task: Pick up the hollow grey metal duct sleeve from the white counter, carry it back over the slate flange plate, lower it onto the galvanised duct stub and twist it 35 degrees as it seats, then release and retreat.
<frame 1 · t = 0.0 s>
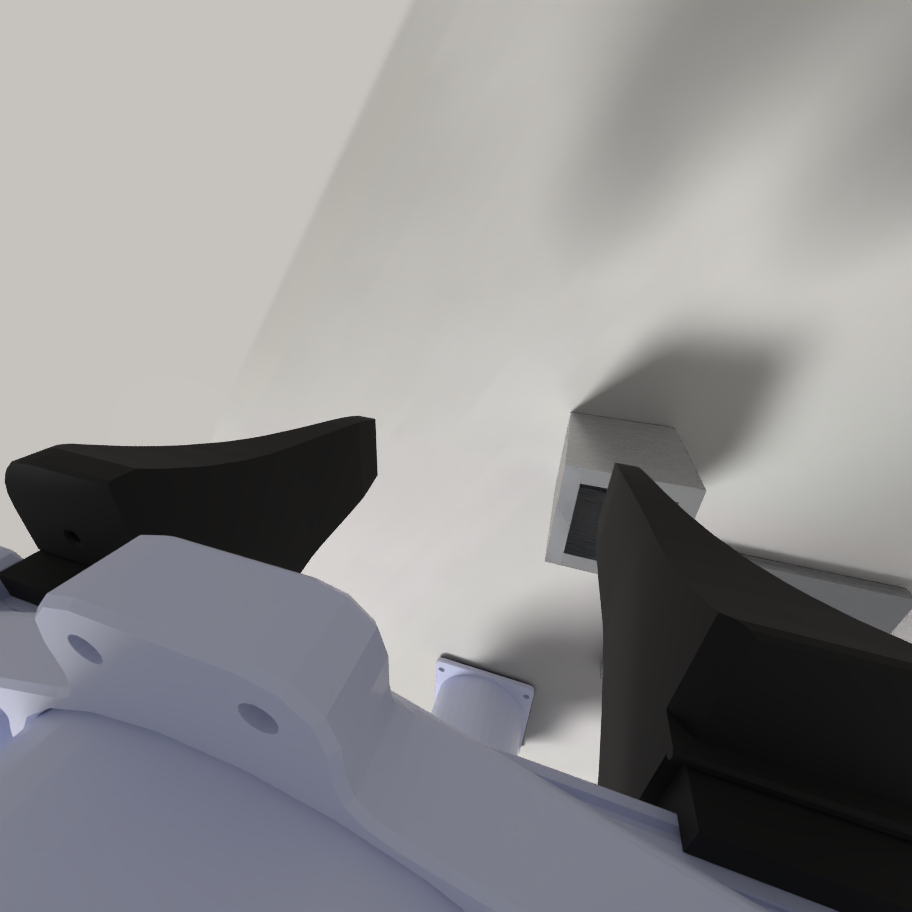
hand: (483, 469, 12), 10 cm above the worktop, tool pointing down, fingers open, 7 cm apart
duct flange: (726, 635, 24), on the worktop
sleeve: (609, 462, 21), on the worktop
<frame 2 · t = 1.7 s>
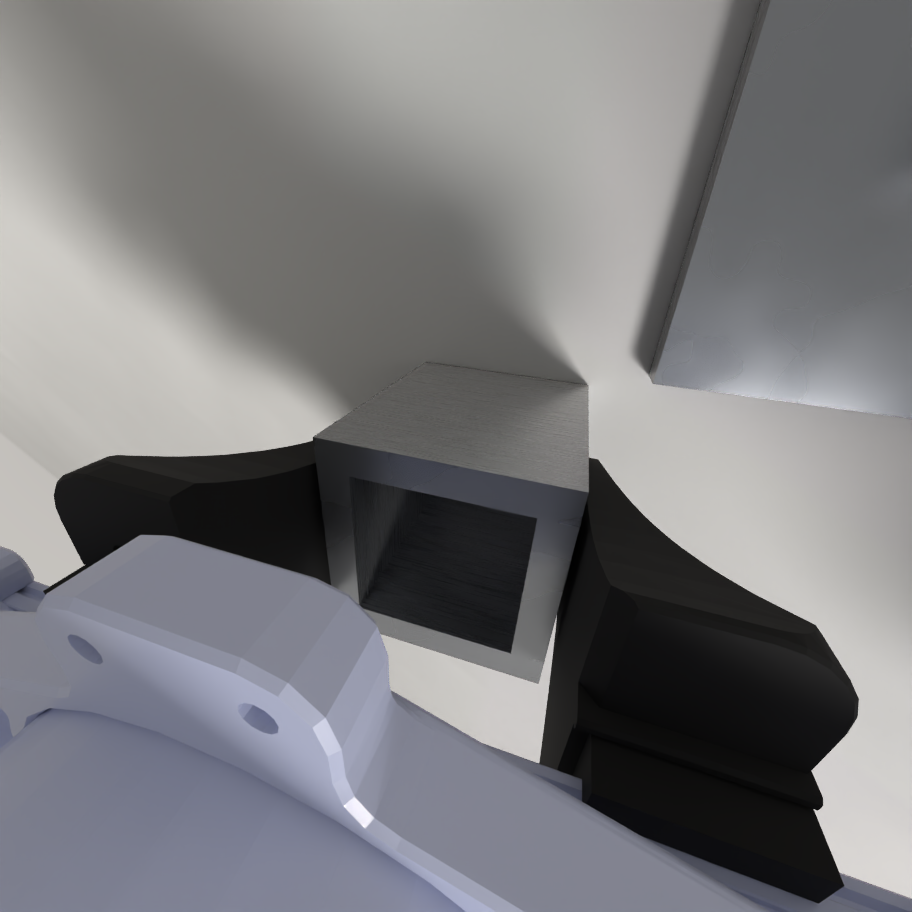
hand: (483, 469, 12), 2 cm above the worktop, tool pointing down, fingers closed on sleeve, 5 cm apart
sleeve: (494, 446, 13), on the worktop, touching gripper
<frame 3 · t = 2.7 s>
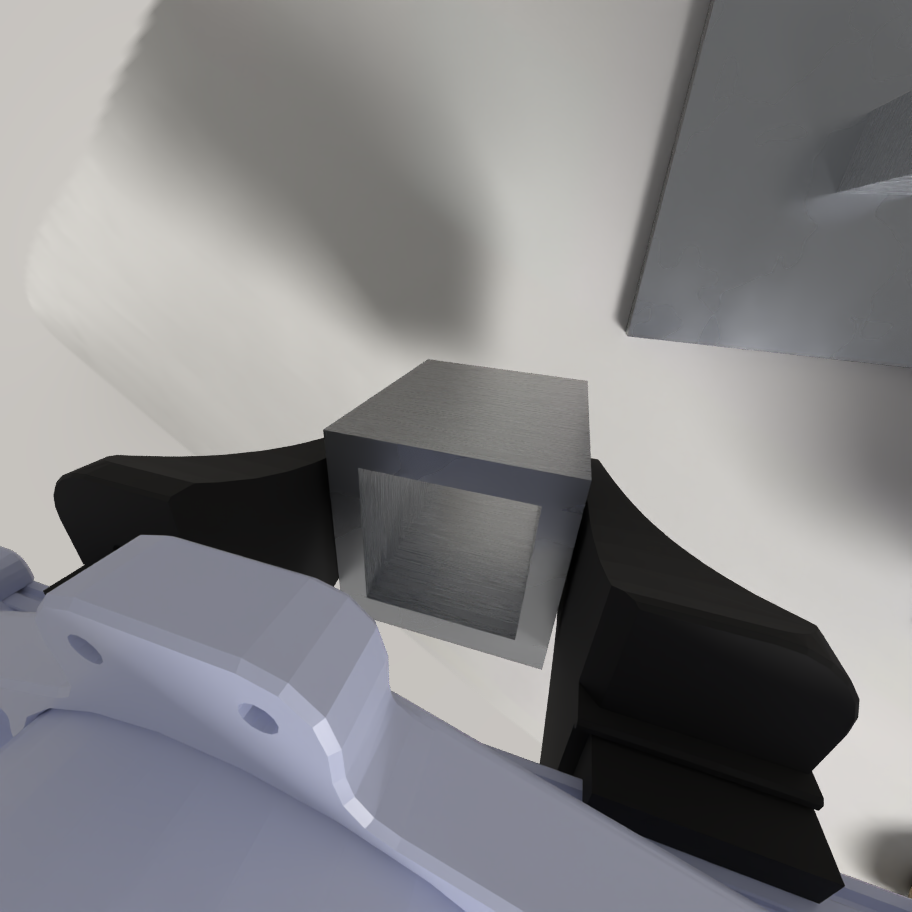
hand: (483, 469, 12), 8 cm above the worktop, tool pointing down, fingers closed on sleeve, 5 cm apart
duct flange: (876, 159, 12), on the worktop
sleeve: (495, 442, 13), point 6 cm above the worktop, touching gripper
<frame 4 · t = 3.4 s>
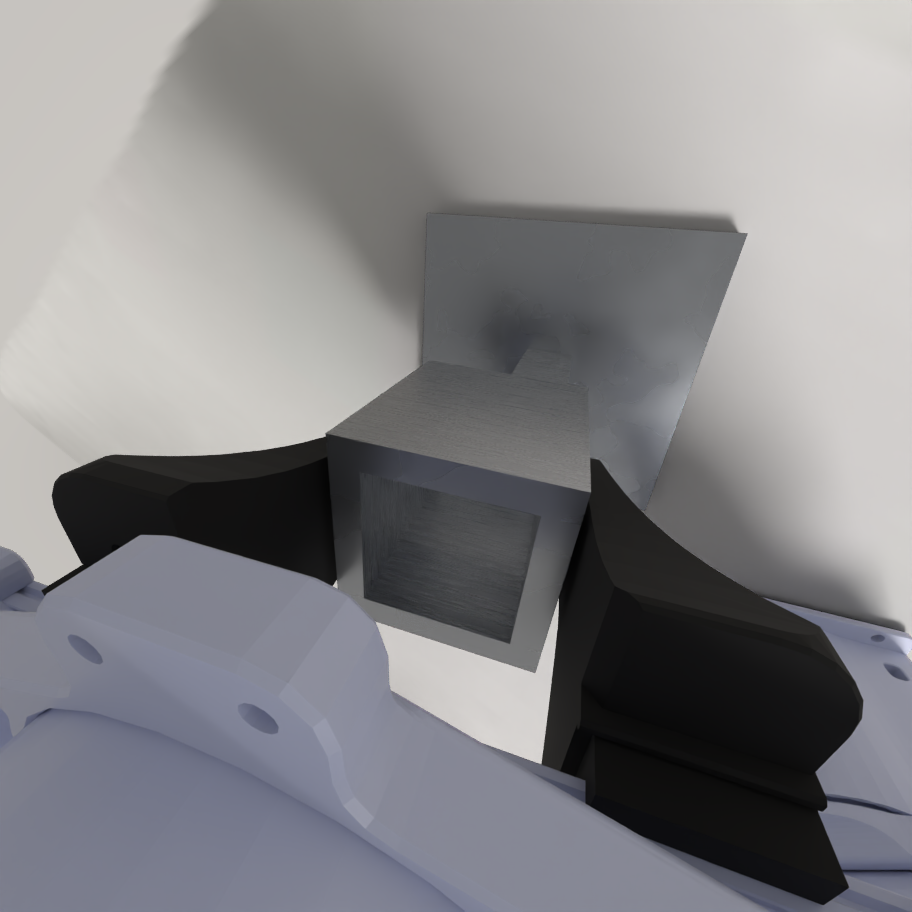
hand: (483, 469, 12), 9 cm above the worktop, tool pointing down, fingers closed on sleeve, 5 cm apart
duct flange: (546, 369, 19), on the worktop
sleeve: (494, 444, 13), point 7 cm above the worktop, touching gripper
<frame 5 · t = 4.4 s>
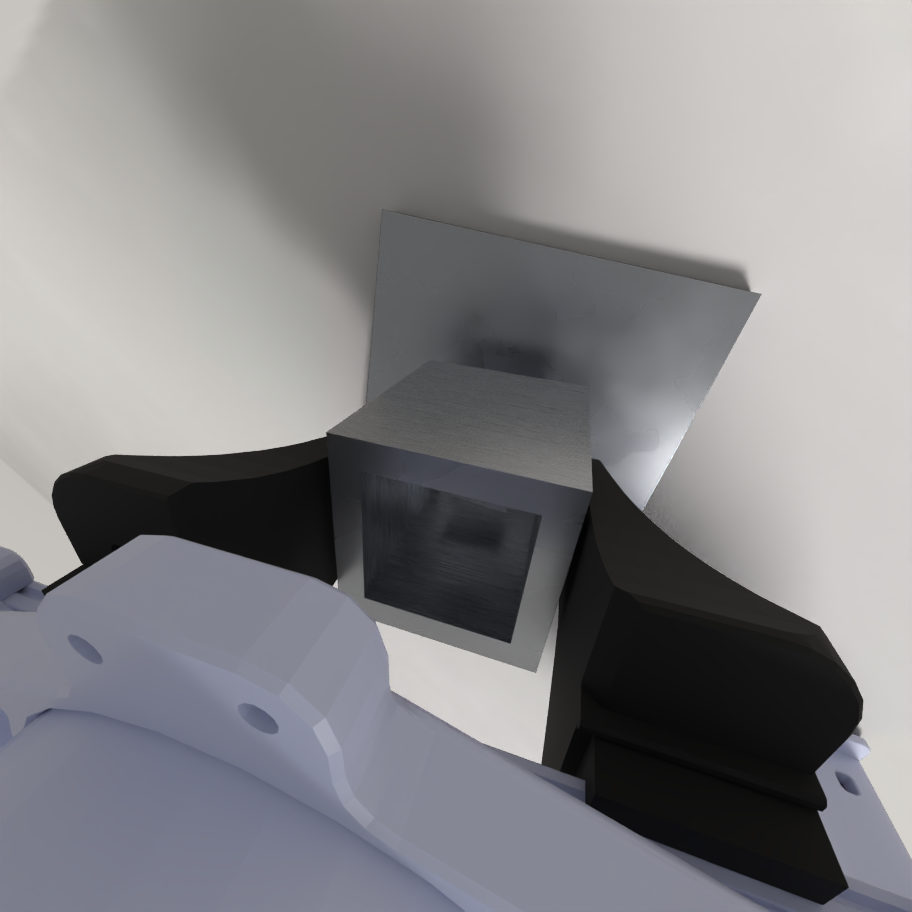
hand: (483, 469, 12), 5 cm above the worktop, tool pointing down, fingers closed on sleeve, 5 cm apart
duct flange: (511, 412, 16), on the worktop
sleeve: (495, 444, 13), point 3 cm above the worktop, touching gripper
when the fingers open (3 cm above the worktop, at t = 5.2 s): sleeve stays where it is, resting on duct flange.
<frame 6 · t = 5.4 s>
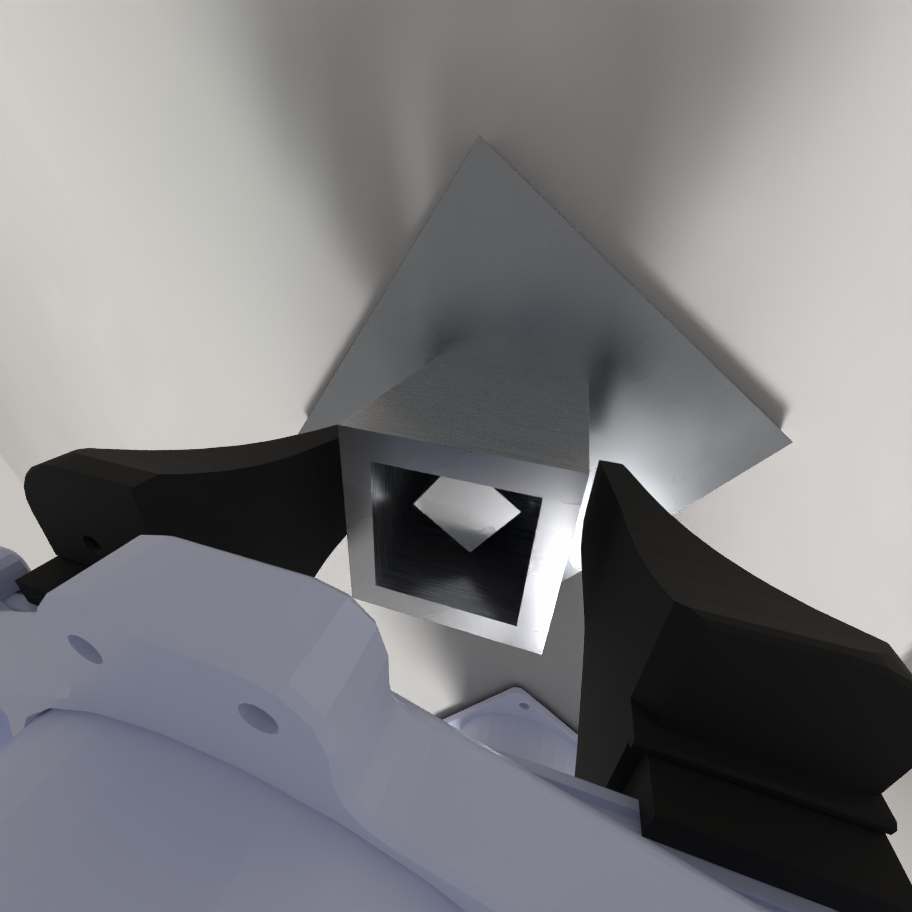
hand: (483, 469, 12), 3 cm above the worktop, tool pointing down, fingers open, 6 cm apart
duct flange: (503, 428, 14), on the worktop
sleeve: (499, 439, 14), point 1 cm above the worktop, touching duct flange
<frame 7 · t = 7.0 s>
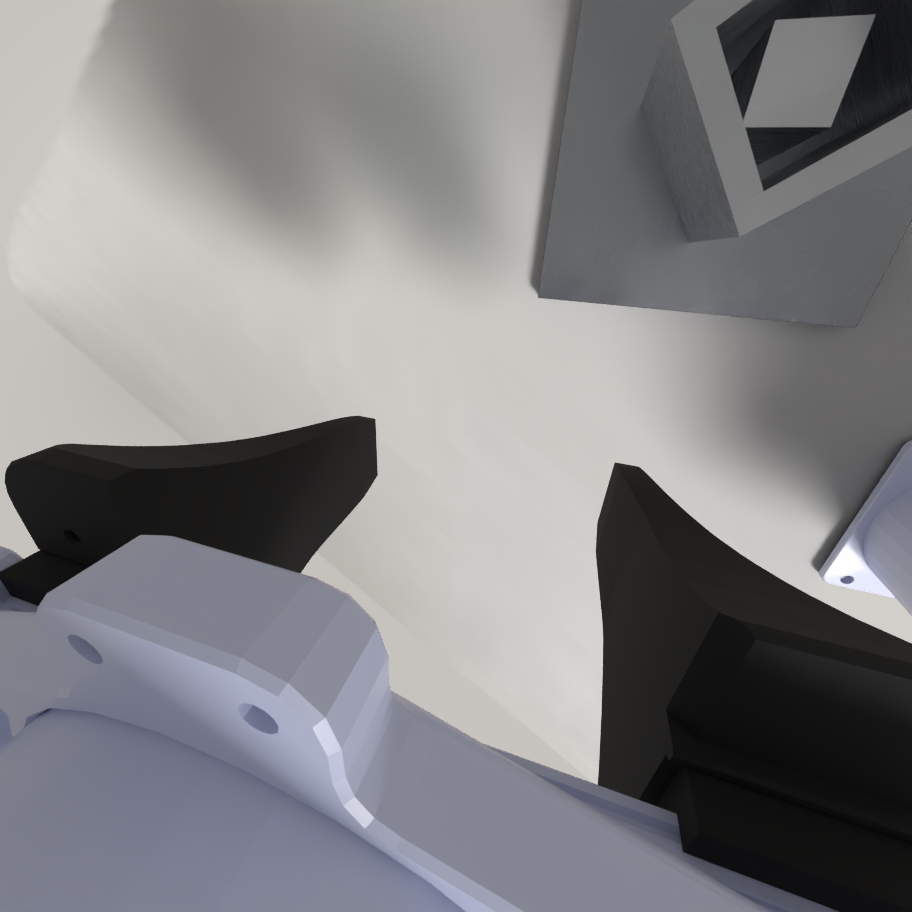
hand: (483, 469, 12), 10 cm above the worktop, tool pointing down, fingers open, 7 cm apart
duct flange: (734, 132, 14), on the worktop
sleeve: (743, 128, 13), point 1 cm above the worktop, touching duct flange
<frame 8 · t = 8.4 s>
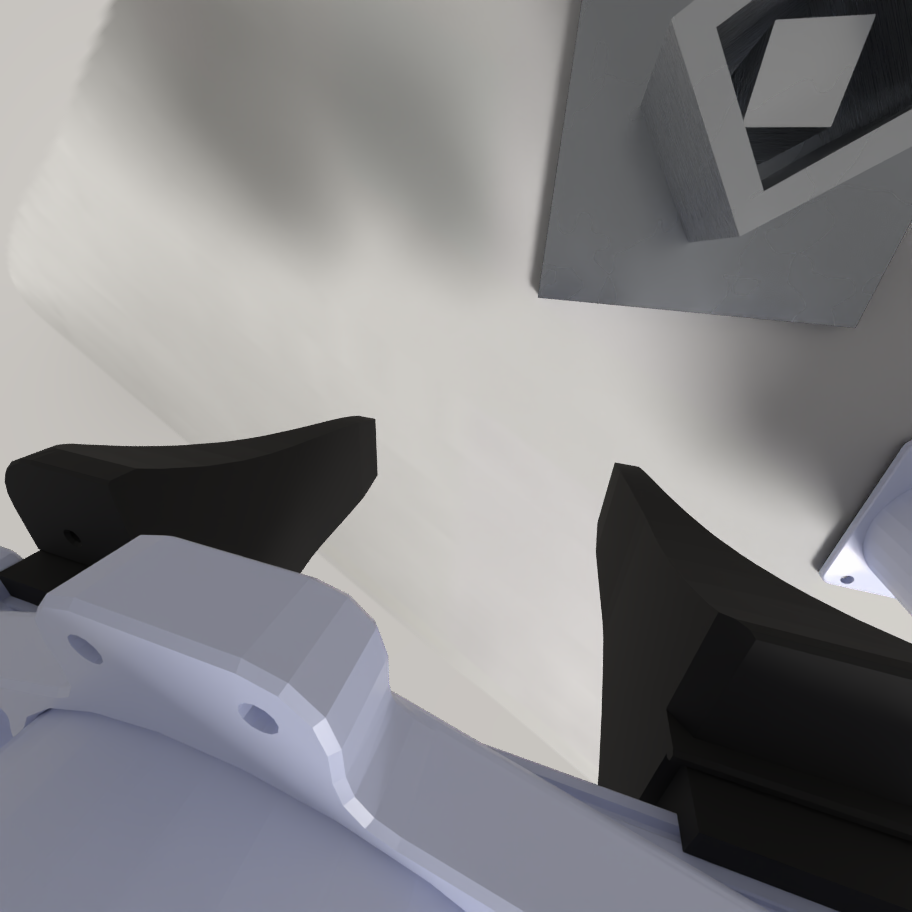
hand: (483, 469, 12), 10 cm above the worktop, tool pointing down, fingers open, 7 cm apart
duct flange: (734, 132, 14), on the worktop
sleeve: (743, 128, 13), point 1 cm above the worktop, touching duct flange
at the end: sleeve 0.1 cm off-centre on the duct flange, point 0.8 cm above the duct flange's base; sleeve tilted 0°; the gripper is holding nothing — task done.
